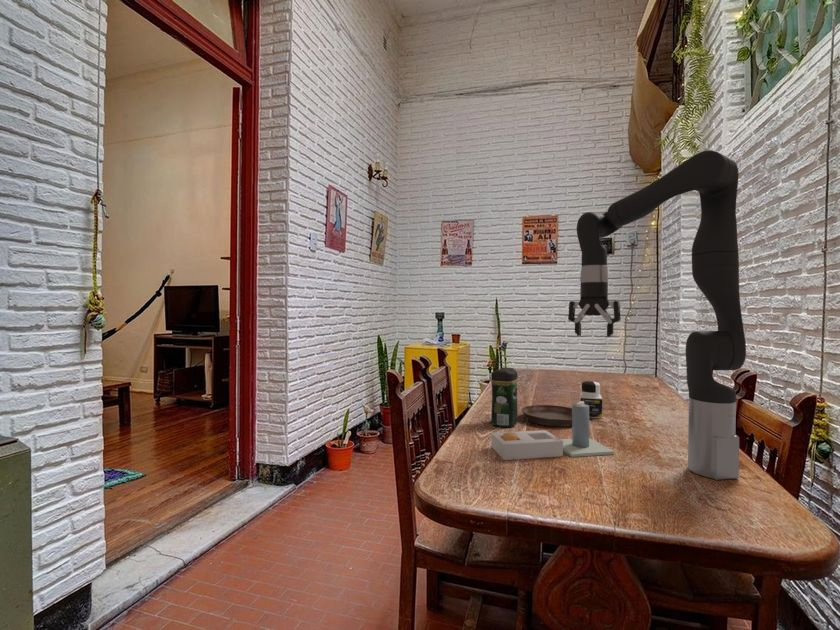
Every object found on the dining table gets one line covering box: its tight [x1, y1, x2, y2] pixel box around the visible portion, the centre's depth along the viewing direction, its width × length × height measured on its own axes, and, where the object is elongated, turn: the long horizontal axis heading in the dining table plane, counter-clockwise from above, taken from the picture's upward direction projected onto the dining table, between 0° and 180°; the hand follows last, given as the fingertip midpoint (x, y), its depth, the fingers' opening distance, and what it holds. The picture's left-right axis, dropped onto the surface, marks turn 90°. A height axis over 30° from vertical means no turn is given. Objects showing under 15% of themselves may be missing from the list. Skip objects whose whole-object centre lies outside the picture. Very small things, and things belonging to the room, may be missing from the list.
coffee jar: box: [490, 366, 519, 428], centre depth 145 cm, size 10×8×19 cm
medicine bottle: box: [578, 380, 604, 419], centre depth 155 cm, size 7×7×12 cm
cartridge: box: [571, 401, 590, 448], centre depth 120 cm, size 4×4×12 cm
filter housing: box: [490, 429, 564, 461], centre depth 118 cm, size 16×10×4 cm, turn 100°
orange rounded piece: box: [503, 433, 517, 441], centre depth 117 cm, size 4×4×3 cm
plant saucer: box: [520, 404, 572, 427], centre depth 150 cm, size 21×21×3 cm
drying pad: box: [559, 437, 615, 458], centre depth 120 cm, size 12×12×1 cm
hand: (593, 336), depth 130 cm, fingers open, 8 cm apart
